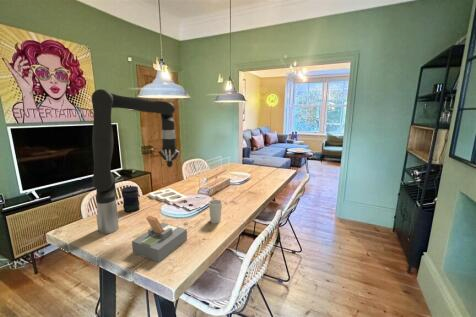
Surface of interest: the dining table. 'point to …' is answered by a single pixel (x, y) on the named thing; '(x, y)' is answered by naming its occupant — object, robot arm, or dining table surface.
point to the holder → (166, 192)
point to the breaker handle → (155, 225)
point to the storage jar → (130, 199)
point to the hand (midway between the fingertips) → (170, 166)
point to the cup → (215, 210)
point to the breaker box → (159, 242)
